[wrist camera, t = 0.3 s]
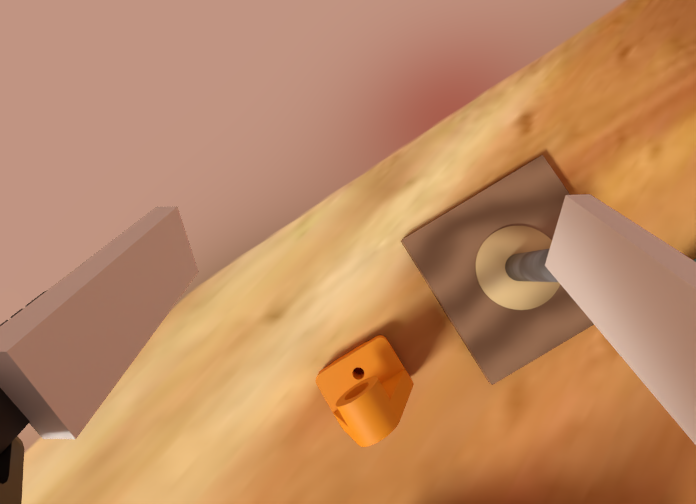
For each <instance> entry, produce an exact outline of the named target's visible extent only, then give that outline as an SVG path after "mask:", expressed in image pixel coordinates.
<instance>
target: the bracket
mask: <svg viewBox="0 0 696 504" xmlns="http://www.w3.org/2000/svg"><path fill="white" fill-rule="evenodd" d="M357 367H359V368H362V369H363V370H364V372H363V373H361V374H357V373H355V372H354V369H355V368H357ZM316 384H317V386H318V388H319V389H320V391H321V393H322V395H323V396H324V398H325V400H326V401H327V403H328V405H329V407H330V408H331V410H332V412H333V414H334V415H335V417H336V419H337V420H338V422H339V424H340V426H341V427H342V429H343V430H344V431H345V432H346V433H347V434H348V435H349V436H350V437H351V438H352V439H353V440H354V441H355V442H356V443H357V444H358V445H359V446H361V447H367V446H371V445H373V444H375V443H377V442H379V441H381V440H382V439H384V438H385V437H386V436H388V435H389V434H390V433H391V432H392V431H393V430H394V429H395V428H396V427H397V425H398V423H399V422H400V419H401V416H402V414H403V411H404V408H405V406H406V403H407V401H408V398H409V395H410V393H411V390H412V387H413V385H414V384H413V381H412V379H411V378H410V376H409V374H408V373H407V371H406V369H405V368H404V366H403V365H402V363H401V361H400V360H399V358H398V356H397V355H396V353H395V351H394V350H393V348H392V346H391V345H390V343H389V342H388V340H387V338H386V337H384V336H382V335H378V336H376V337H375V338H373V339H371V340H370V341H368V342H367V341H366V342H365V343H363V344H361V345H360V346H358V347H356V348H355V349H353V350H352V351H350V352H348V353H347V354H345V355H343V356H342V357H340V358H339V359H337V360H335V361H334V362H332V364H330V365H329V366H327V367H325V368H324V369H322V370H321V371H320V372H319V374H318V375H317V377H316Z"/></svg>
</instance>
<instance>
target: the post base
mask: <svg viewBox="0 0 696 504" xmlns="http://www.w3.org/2000/svg"><path fill="white" fill-rule="evenodd" d="M566 195H570V194H569V192H568V191H567V190H566V188H565V187H564V185H563V184H562V182H561V181H560V179H559V178H558V176H557V175H556V174H555V172H554V171H553V169H552V168H551V166H550V165H549V163H548V162H547V161H546V159H545V158H544V156H543V155H541V156H540V157H538V158H536V159H535V160H533V161H531V162H530V163H528V164H526V165H525V166H523V167H521V168H520V169H518V170H516V171H515V172H513V173H512V174H510V175H508V176H507V177H505V178H503V179H502V180H500V181H498V182H497V183H495V184H493V185H492V186H490V187H488V188H487V189H485V190H483V191H482V192H480V193H478V194H477V195H475V196H473V197H472V198H470V199H468V200H467V201H465V202H464V203H462V204H460V205H459V206H457V207H455V208H454V209H452V210H450V211H449V212H447V213H445V214H444V215H442V216H440V217H439V218H437V219H435V220H434V221H432V222H430V223H429V224H427V225H425V226H424V227H422V228H421V229H419V230H417V231H416V232H414V233H412V234H411V235H409V236H407V237H406V238H404V239H402V240H401V242H402V244H403V245H404V247H405V249H406V250H407V252H408V253H409V255H410V257H411V258H412V260H413V261H414V263H415V265H416V266H417V268H418V269H419V271H420V273H421V274H422V276H423V277H424V279H425V281H426V282H427V284H428V286H429V287H430V289H431V290H432V292H433V294H434V295H435V297H436V298H437V300H438V302H439V303H440V305H441V306H442V308H443V310H444V311H445V313H446V314H447V316H448V318H449V319H450V321H451V322H452V324H453V326H454V327H455V329H456V330H457V332H458V334H459V335H460V337H461V338H462V340H463V342H464V343H465V345H466V346H467V348H468V350H469V351H470V353H471V355H472V356H473V358H474V359H475V361H476V363H477V364H478V366H479V367H480V369H481V371H482V372H483V374H484V375H485V377H486V379H487V380H488V382H490V383H491V384H492V385H493V384H495V383H496V382H498V381H500V380H501V379H503V378H505V377H506V376H508V375H510V374H511V373H513V372H515V371H516V370H518V369H520V368H521V367H523V366H525V365H526V364H528V363H530V362H531V361H533V360H535V359H537V358H538V357H540V356H542V355H543V354H545V353H547V352H548V351H550V350H552V349H553V348H555V347H557V346H558V345H560V344H562V343H563V342H565V341H567V340H568V339H570V338H572V337H574V336H575V335H577V334H579V333H580V332H582V331H584V330H585V329H587V328H589V327H590V326H592V325H594V324H593V322H592V321H591V320H590V319H589V318H588V316H587V315H586V314H585V313H584V312H583V310H582V309H581V308H580V307H579V306H578V305H577V303H576V302H575V301H574V300H573V299H572V297H571V296H570V295H569V294H568V293H567V291H566V290H565V289H564V288H563V287H562V285H561V284H560V283H559V282H558V281H557V280H556V278H555V277H554V276H553V275H552V274H551V272H550V271H549V270H548V269H547V268H546V266H545V263H546V259H547V256H548V253H549V249H550V246H551V243H552V239H553V236H554V233H555V229H556V226H557V222H558V219H559V216H560V212H561V209H562V206H563V202H564V199H565V196H566Z"/></svg>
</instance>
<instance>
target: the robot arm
mask: <svg viewBox="0 0 696 504" xmlns="http://www.w3.org/2000/svg"><path fill="white" fill-rule="evenodd" d="M545 266H546V268H547V269H548V270H549V271H550V272H551V274H552V275H553V276H554V277H555V278H556V280H557V281H558V282H559V283H560V284H561V285H562V287H563V288H564V289H565V290H566V291H567V293H568V294H569V295H570V296H571V297H572V299H573V300H574V301H575V302H576V303H577V305H578V306H579V307H580V308H581V309H582V310H583V312H584V313H585V314H586V315H587V316H588V318H589V319H590V320H591V321H592V322H593V324H594V325H595V326H596V327H597V328H598V329H599V331H600V332H601V333H602V334H603V335H604V337H605V338H606V339H607V340H608V341H609V343H610V344H611V345H612V346H613V347H614V349H615V350H616V351H617V352H618V353H619V354H620V356H621V357H622V358H623V359H624V360H625V362H626V363H627V364H628V365H629V366H630V368H631V369H632V370H633V371H634V372H635V373H636V375H637V376H638V377H639V378H640V379H641V381H642V382H643V383H644V384H645V385H646V387H647V388H648V389H649V390H650V391H651V393H652V394H653V395H654V396H655V397H656V398H657V400H658V401H659V402H660V403H661V404H662V406H663V407H664V408H665V409H666V410H667V412H668V413H669V414H670V415H671V416H672V417H673V419H674V420H675V421H676V422H677V423H678V425H679V426H680V427H681V428H682V429H683V431H684V432H685V433H686V434H687V435H688V437H689V438H690V439H691V440H692V441H693V442H694V444H695V445H696V262H695V261H693V260H692V259H690V258H689V257H687V256H686V255H684V254H682V253H681V252H679V251H678V250H676V249H675V248H673V247H671V246H670V245H668V244H667V243H665V242H664V241H662V240H661V239H659V238H657V237H656V236H654V235H653V234H651V233H650V232H648V231H646V230H645V229H643V228H642V227H640V226H639V225H637V224H636V223H634V222H632V221H631V220H629V219H628V218H626V217H625V216H623V215H621V214H620V213H618V212H617V211H615V210H614V209H612V208H610V207H609V206H607V205H606V204H604V203H603V202H601V201H600V200H598V199H596V198H595V197H593V196H592V195H590V194H584V195H566V196H565V199H564V202H563V206H562V209H561V212H560V216H559V219H558V222H557V226H556V229H555V233H554V236H553V239H552V243H551V246H550V249H549V253H548V256H547V259H546V263H545ZM197 274H198V269H197V266H196V262H195V259H194V256H193V253H192V250H191V247H190V244H189V241H188V238H187V235H186V232H185V229H184V226H183V223H182V219H181V217H180V214H179V210H178V207H156V208H154V209H153V210H152V211H150V212H149V213H148V214H147V215H145V216H144V217H143V218H141V219H140V220H139V221H137V222H136V223H135V224H133V225H132V226H131V227H130V228H128V229H127V230H126V231H125V232H123V233H122V234H120V235H119V236H118V237H116V238H115V239H114V240H113V241H111V242H110V243H109V244H107V245H106V246H105V247H103V248H102V249H101V250H100V251H98V252H97V253H96V254H94V255H93V256H92V257H90V258H89V259H88V260H86V261H85V262H84V263H82V264H81V265H80V266H79V267H77V268H76V269H75V270H74V271H72V272H71V273H70V274H68V275H67V276H66V277H64V278H63V279H62V280H60V281H59V282H58V283H57V284H55V285H54V286H53V287H51V288H50V289H49V290H47V291H45V292H43V293H42V294H40V295H39V296H38V297H37V298H35V299H34V300H33V301H32V302H30V303H29V304H27V305H26V307H25V308H24V309H21V310H19V311H18V312H17V313H15V314H14V315H13V316H12V317H11V319H9V320H6V321H5V322H4V323H2V324H1V325H0V504H21V499H22V480H23V461H24V446H23V443H22V441H21V440H20V439H19V438H18V437H17V435H18V434H19V433H20V432H21V431H22V430H23V429H24V428H25V427H26V425H27V424H28V423H30V424H31V426H32V427H33V428H34V429H35V430H36V431H37V432H38V434H39V435H40V436H41V437H42V438H43V439H76V438H77V437H78V435H79V434H80V433H81V431H82V430H83V428H84V427H85V426H86V424H87V423H88V422H89V420H90V419H91V418H92V416H93V415H94V414H95V412H96V411H97V409H98V408H99V407H100V405H101V404H102V403H103V401H104V400H105V399H106V397H107V396H108V394H109V393H110V392H111V390H112V389H113V388H114V386H115V385H116V384H117V382H118V381H119V380H120V378H121V377H122V375H123V374H124V373H125V371H126V370H127V369H128V367H129V366H130V365H131V363H132V362H133V361H134V359H135V358H136V356H137V355H138V354H139V352H140V351H141V350H142V348H143V347H144V346H145V344H146V343H147V341H148V340H149V339H150V337H151V336H152V335H153V333H154V332H155V331H156V329H157V328H158V327H159V325H160V324H161V322H162V321H163V320H164V318H165V317H166V316H167V314H168V313H169V312H170V310H171V309H172V307H173V306H174V305H175V303H176V302H177V301H178V299H179V298H180V297H181V295H182V294H183V293H184V291H185V290H186V288H187V287H188V286H189V284H190V283H191V281H192V280H193V279H194V278H195V276H196V275H197Z"/></svg>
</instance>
